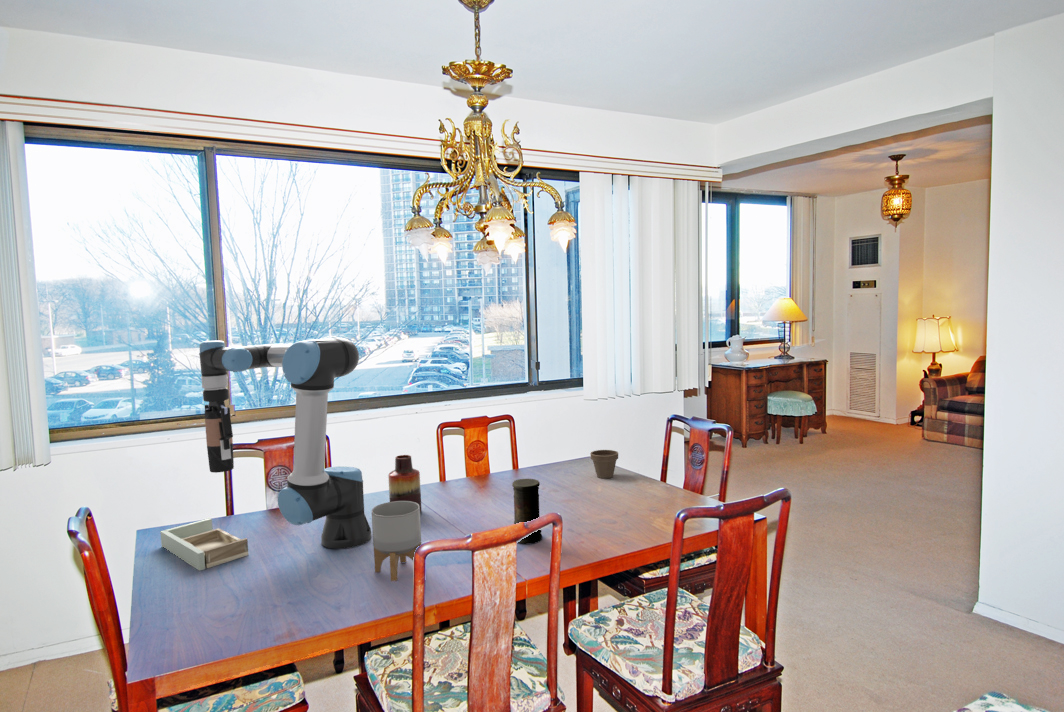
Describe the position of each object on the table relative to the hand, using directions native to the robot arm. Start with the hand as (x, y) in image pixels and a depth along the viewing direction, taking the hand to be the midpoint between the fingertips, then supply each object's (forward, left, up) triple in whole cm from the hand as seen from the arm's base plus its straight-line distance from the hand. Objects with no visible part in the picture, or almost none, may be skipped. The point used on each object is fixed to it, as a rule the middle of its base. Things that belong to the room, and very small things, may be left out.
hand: (220, 457), depth 212 cm
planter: (-72, -16, -25) cm, 78 cm away
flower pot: (-65, -125, -25) cm, 143 cm away
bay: (-12, +11, -25) cm, 30 cm away
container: (-85, -55, -25) cm, 104 cm away
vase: (-35, -47, -25) cm, 64 cm away
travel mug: (0, 0, -4) cm, 4 cm away
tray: (-16, +11, -25) cm, 32 cm away
